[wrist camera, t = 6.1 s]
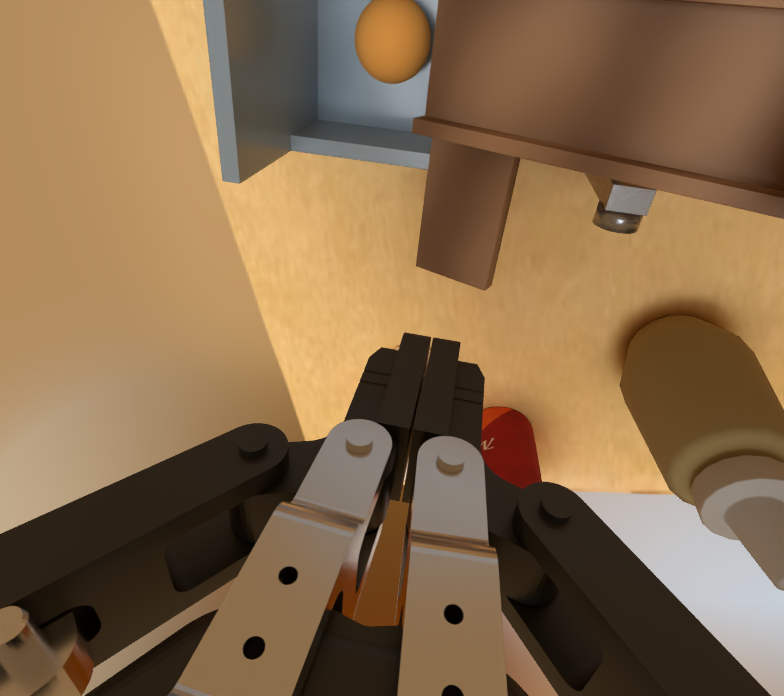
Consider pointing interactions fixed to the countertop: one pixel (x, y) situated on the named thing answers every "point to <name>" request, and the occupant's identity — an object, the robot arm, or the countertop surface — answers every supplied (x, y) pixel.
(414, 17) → the ball
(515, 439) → the paper cup
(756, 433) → the squeeze bottle
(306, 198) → the countertop surface
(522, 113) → the lever
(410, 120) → the cup
